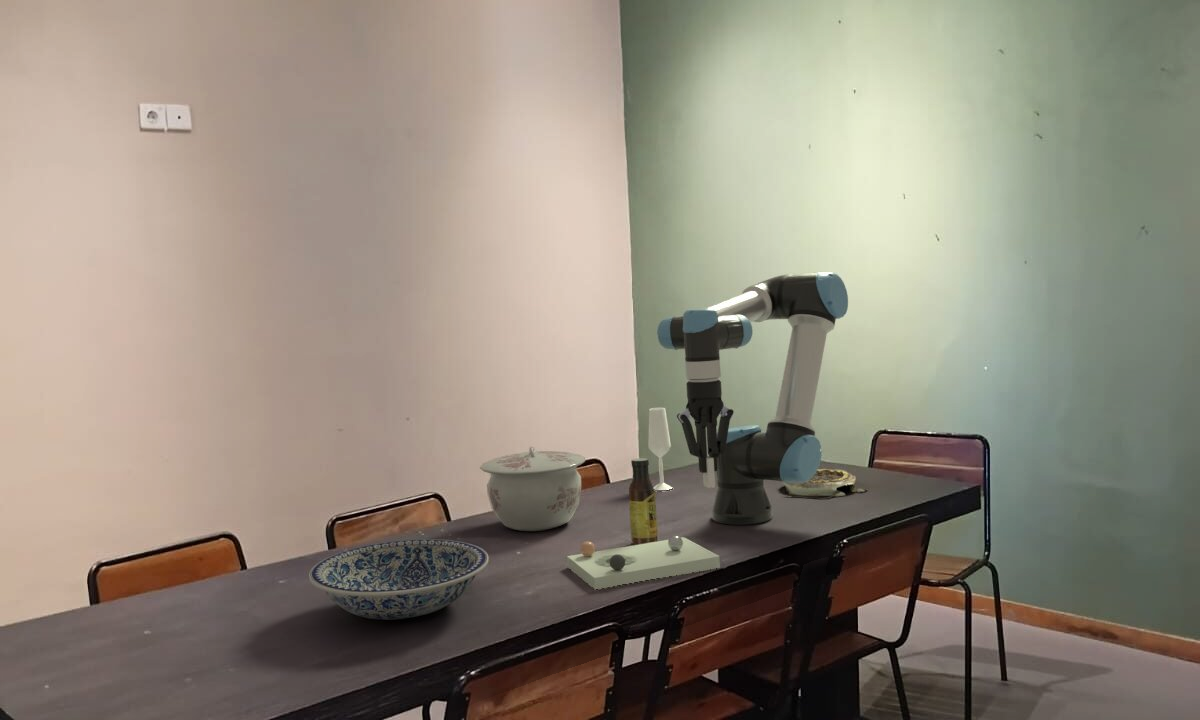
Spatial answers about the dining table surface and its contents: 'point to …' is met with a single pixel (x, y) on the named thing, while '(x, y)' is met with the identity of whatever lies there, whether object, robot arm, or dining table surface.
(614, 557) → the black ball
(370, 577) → the ceramic bowl
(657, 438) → the champagne flute
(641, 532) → the sauce bottle
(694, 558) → the board
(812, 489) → the pie
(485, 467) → the chamber pot
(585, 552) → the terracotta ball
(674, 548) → the steel ball
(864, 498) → the dining table surface
